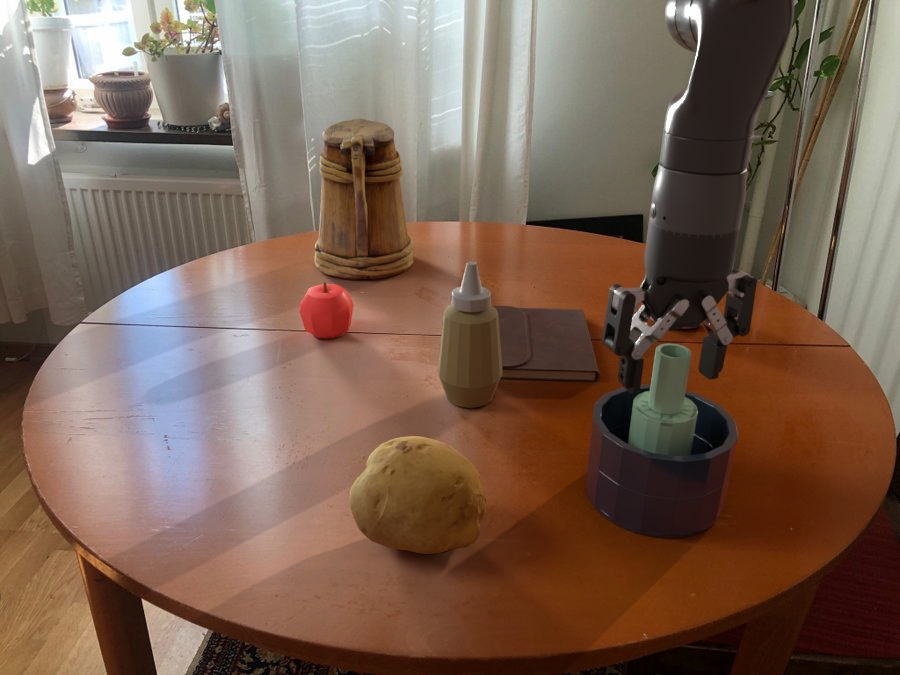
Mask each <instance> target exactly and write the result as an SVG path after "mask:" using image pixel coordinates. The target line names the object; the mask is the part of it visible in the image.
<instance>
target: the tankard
mask: <svg viewBox="0 0 900 675" xmlns="http://www.w3.org/2000/svg"><path fill="white" fill-rule="evenodd" d="M321 138H322V141H323V150H322V152H321V154H320V156H319V174H320V175H321V187H320V208H319V209H320V210H319V228H318V239H317V241H316V242H315V244H314V258H313V259H314V265H315V267H316V269H317V270H318V271H320V272H322V273H323V274H325V275H328V276H331V277H335V278H339V279H344V280H345V279H346V280H355V281H357V280H379V279H383V278H389V277H393V276H395V275H396V276H397V275H398V274H401V273H404V272H405V271H407V270H408V269H409V268H410V267H411V266H412V265H413V264H414V254H415V252H414V251H415V250H414V248H413V246H414V245H413V240H412V238H411V237H410V236H409V233H408V226H407V225H408V224H407V219H406V213H405V206H404V200H403V194H402V193H403V192H402V185H401V177H402V176H403V167H402V160H401V155H400V153H399V151H397V150H396V144H395V131H394V130H393V129H392V127H391V126H390V125H388V124H386V123H383V122H379V121H374V120H369V119H364V118H361V117H359V118H354V119H348V120H343V121H339V122H336V123H334V124H332V125H330V126H328V127H327V128H326V129H325V130H324V131H323V132H322V134H321Z"/></svg>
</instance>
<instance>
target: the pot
mask: <svg viewBox="0 0 900 675" xmlns="http://www.w3.org/2000/svg"><path fill="white" fill-rule="evenodd" d="M650 386H651V384H641V386H640V391H639V392H637V393H630V392H629V391H628V390H627V389H626V388H625V387H623V386H622V387H620V388H616V389H614V390H612V391H611V390H610V391H609V392H606V393H604V394H603V395H602V396H601V397H600V398H599V399H598V400H597V401H596V402H595V403H594V404H593V410H592V420H591V429H590V440H589V449H588V458H587V459H588V460H587V468H586V480H585V491H586V495H587V497H588V500H589V501H590V503H591V505H592V506H593V507H594V509H596V511H597V512H598V513H599V514H600V515H601V516H603V517H604V518H605V519H607V520H608V521H609V522H611V523H612V524H614V525H616V526H618V527H620V528H622V529H624V530H627V531H630V532H632V533H635V534H639V535H642V536H645V537H652V538H660V539H679V538H687V537H692V536H695V535H698V534H701V533H703V532H705V531H707V530H708V529H710V528H711V527H712V526H714V525H715V524H716V523H717V522H718V520H719V519H720V516H721V514H722V511H723V509H724V506H725V502H726V497H727V492H728V487H729V483H730V477H731V473H732V469H733V463H734V459H735V455H736V449H737V446H738V445H737V444H738V439H739V432H738V428H737V423H736V420H735V419H734V418H733V417H732V415H731V414H729V413H728V412H727V411H726V410H725V409H724V408H723V407H722V406H721V405H719V404H718V403H716V402H714V401H712V400H710V399H708V398H707V397H705V396H703V395H701V394H699V393H695V392H691V391H689V390H686V392H685V397H686V398H688V399H690V400H691V401H692V402H693V403H694V404H695V405H696V406H697V411H698V415H697V420H696V426H695V432H694V437H693V443H692V449H691V454H690V455H689V456H673V455H665V454H656V453H651V452H648V451H645V450H642V449H640V448H637V447H634V446H631V445H628V439H629V431H630V423H631V416H632V408H633V400H634V399H635V398H636V397H637V395H639V394H641V393H644V392H646V391H650Z"/></svg>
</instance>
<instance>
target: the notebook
mask: <svg viewBox="0 0 900 675" xmlns="http://www.w3.org/2000/svg"><path fill="white" fill-rule="evenodd" d="M492 306H493V307H494V308H495V309H496V310H497V312H498V318H499V331H500V344H501V357H502V370H503V373H502V376H501V378H500V380H524V381H525V380H526V381H527V380H528V381H530V380H531V381H558V382H559V381H560V382H561V381H562V382H563V381H566V382H593V383H594V382H595V383H596V382H598V381H599V380H600V377H601V375H600V370H599V366H598V363H597V359H596V354H595V351H594V346H593V342H592V339H591V334H590V331H589V326H588V323H587V319H586V316H585V315H586V314H585V312H584V310H583V309H582V308H580V309H579V308H578V309H577V308H572V309H571V308H547V307H545V308H544V307H542V308H541V307H517V306H516V307H515V306H512V305H492Z"/></svg>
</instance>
